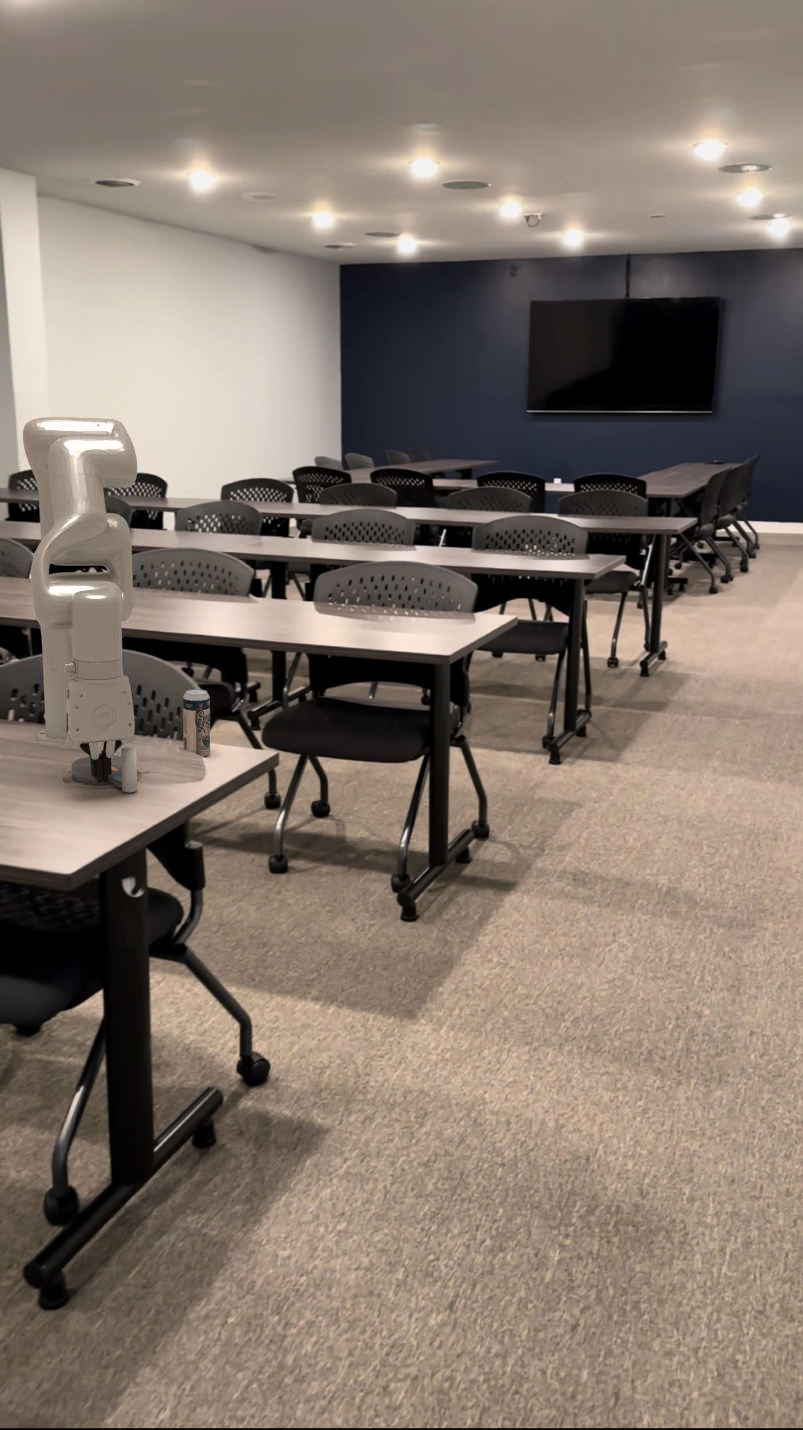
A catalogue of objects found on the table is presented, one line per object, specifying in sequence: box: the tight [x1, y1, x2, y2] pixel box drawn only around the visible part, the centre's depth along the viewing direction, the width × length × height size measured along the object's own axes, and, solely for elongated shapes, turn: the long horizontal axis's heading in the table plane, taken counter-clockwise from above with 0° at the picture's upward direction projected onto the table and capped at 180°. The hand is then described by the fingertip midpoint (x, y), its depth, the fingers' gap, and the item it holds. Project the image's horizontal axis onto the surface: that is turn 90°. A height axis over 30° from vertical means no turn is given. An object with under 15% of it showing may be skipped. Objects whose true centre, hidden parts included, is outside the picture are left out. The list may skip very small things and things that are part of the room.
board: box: [62, 770, 150, 790], centre depth 207 cm, size 20×17×1 cm
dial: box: [70, 746, 138, 793], centre depth 202 cm, size 16×10×7 cm, turn 40°
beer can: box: [182, 688, 211, 758], centre depth 223 cm, size 5×5×12 cm
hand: (101, 779), depth 196 cm, fingers closed
